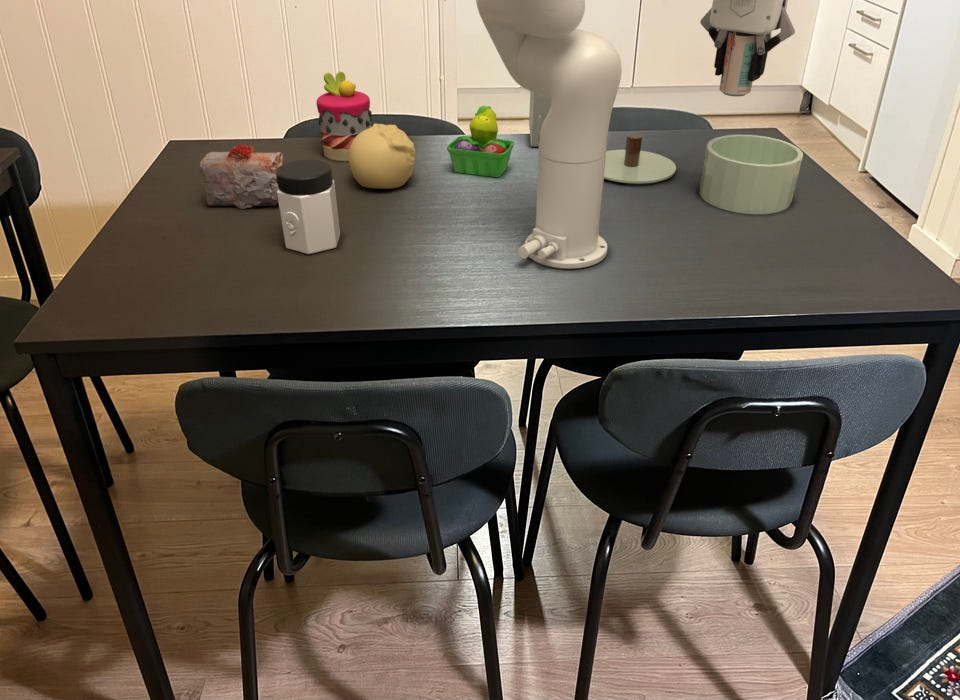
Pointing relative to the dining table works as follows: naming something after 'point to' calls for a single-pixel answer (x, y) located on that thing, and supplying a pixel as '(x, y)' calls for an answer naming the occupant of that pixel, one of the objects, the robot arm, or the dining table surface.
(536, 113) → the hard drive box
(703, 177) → the tub
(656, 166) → the tub lid
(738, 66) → the beer can
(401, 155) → the sculpture
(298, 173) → the jar
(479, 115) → the fruit basket
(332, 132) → the cake
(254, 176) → the food item
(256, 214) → the dining table surface
